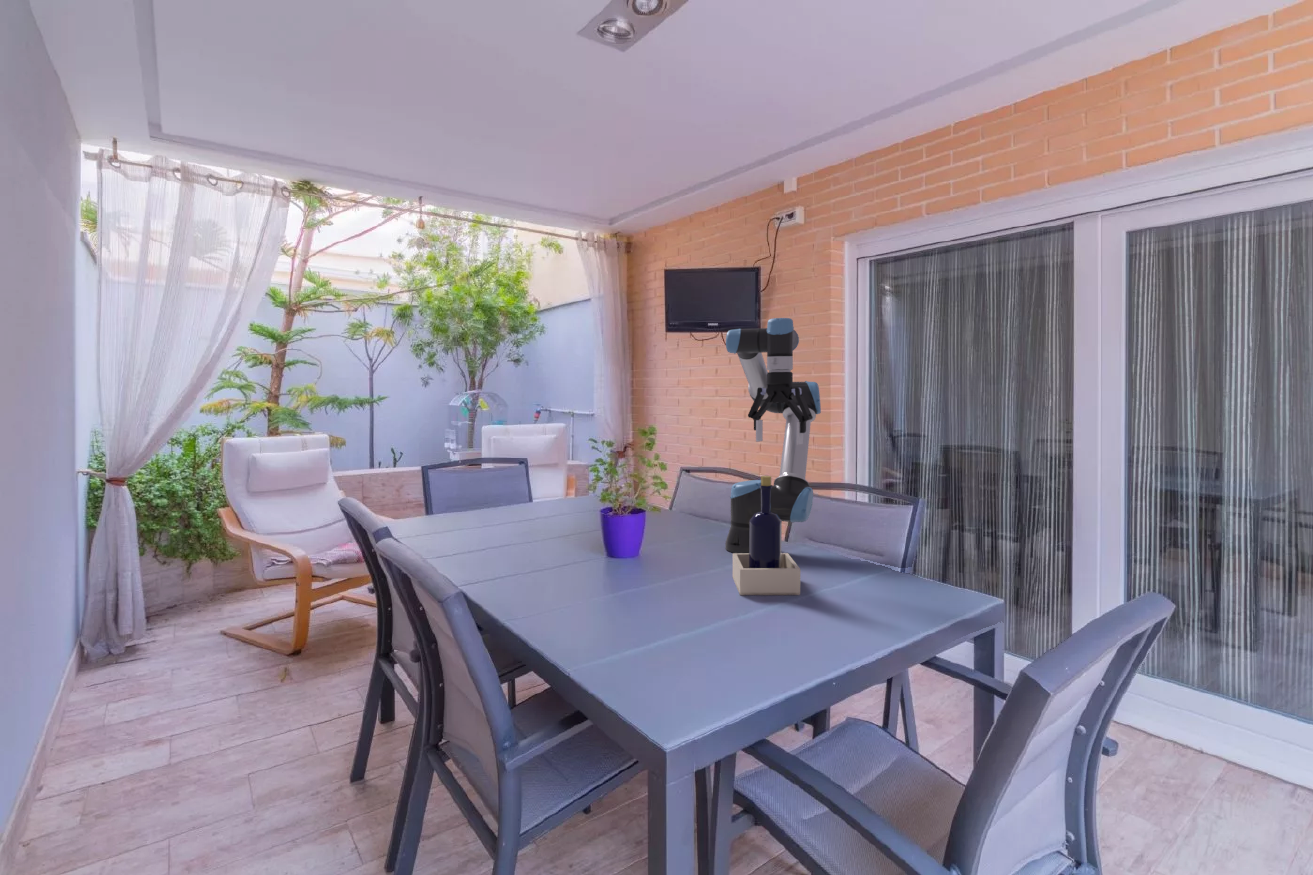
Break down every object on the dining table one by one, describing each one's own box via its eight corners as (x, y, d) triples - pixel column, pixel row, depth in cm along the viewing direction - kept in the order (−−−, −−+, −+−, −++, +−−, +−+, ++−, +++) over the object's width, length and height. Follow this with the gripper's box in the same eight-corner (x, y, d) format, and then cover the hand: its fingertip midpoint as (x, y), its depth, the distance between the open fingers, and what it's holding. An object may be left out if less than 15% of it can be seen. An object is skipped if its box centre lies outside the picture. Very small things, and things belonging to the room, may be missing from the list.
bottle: (761, 576, 182) (762, 473, 180) (788, 583, 175) (790, 476, 173) (741, 583, 176) (742, 476, 173) (768, 591, 169) (769, 480, 167)
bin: (732, 576, 184) (732, 553, 183) (787, 576, 184) (787, 553, 183) (739, 595, 168) (740, 569, 167) (800, 595, 168) (800, 569, 167)
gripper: (736, 371, 192) (736, 441, 194) (813, 370, 176) (811, 446, 178) (750, 371, 197) (749, 439, 200) (824, 370, 181) (823, 444, 184)
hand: (779, 442), depth 189 cm, fingers open, 13 cm apart
